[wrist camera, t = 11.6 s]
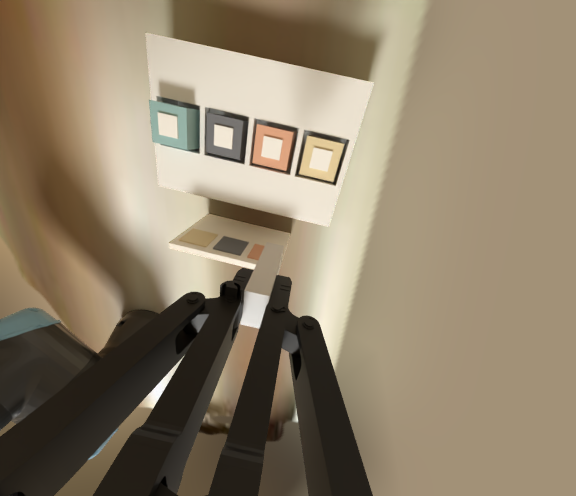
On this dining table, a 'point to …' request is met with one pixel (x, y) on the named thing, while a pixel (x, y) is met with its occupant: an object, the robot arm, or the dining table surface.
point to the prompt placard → (228, 240)
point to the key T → (321, 158)
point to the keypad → (254, 125)
